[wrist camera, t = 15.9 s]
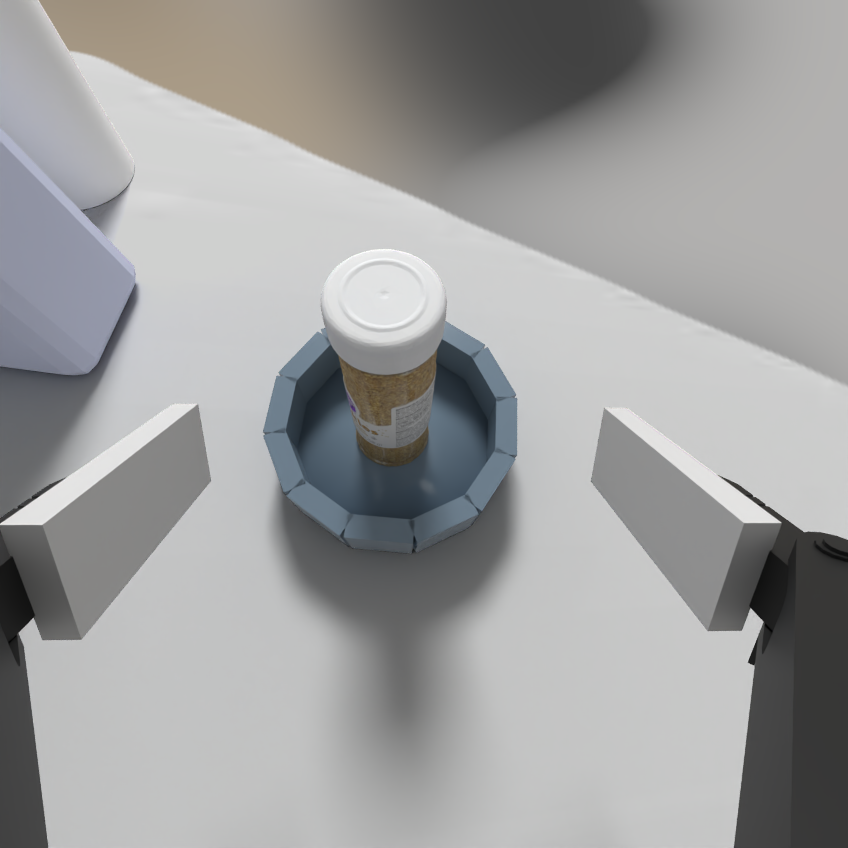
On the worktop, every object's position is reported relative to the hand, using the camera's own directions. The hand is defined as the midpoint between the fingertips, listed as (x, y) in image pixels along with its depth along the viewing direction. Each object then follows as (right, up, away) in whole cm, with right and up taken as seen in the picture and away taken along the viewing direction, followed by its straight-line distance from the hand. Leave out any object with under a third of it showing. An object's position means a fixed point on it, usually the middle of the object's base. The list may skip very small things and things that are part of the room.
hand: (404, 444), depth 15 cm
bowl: (-1, 0, +14) cm, 14 cm away
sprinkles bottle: (-1, 0, +14) cm, 14 cm away
